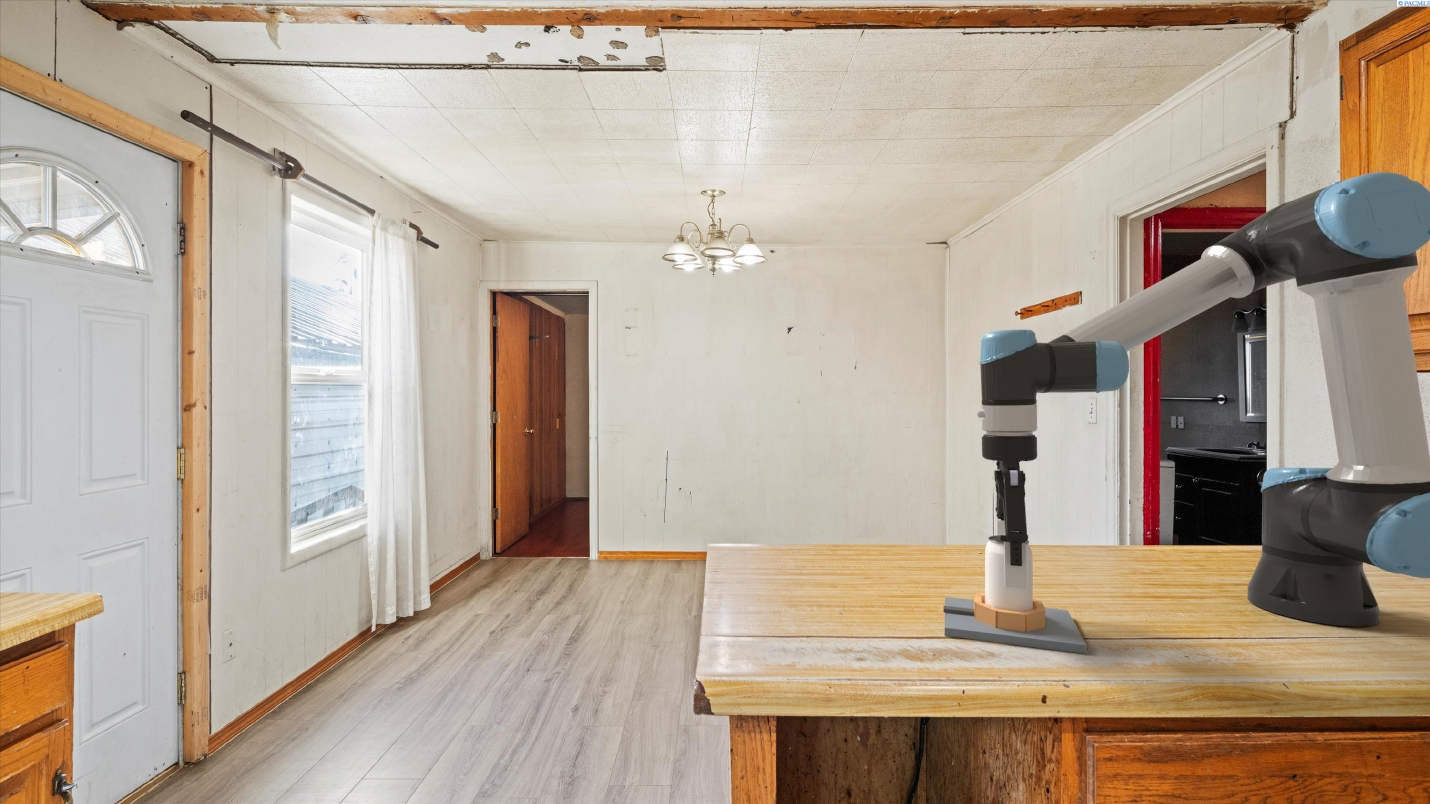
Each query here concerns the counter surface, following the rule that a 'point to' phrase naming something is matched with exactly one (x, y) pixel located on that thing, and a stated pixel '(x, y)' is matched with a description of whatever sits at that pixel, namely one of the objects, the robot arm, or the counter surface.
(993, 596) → the can
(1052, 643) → the board
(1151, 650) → the counter surface
